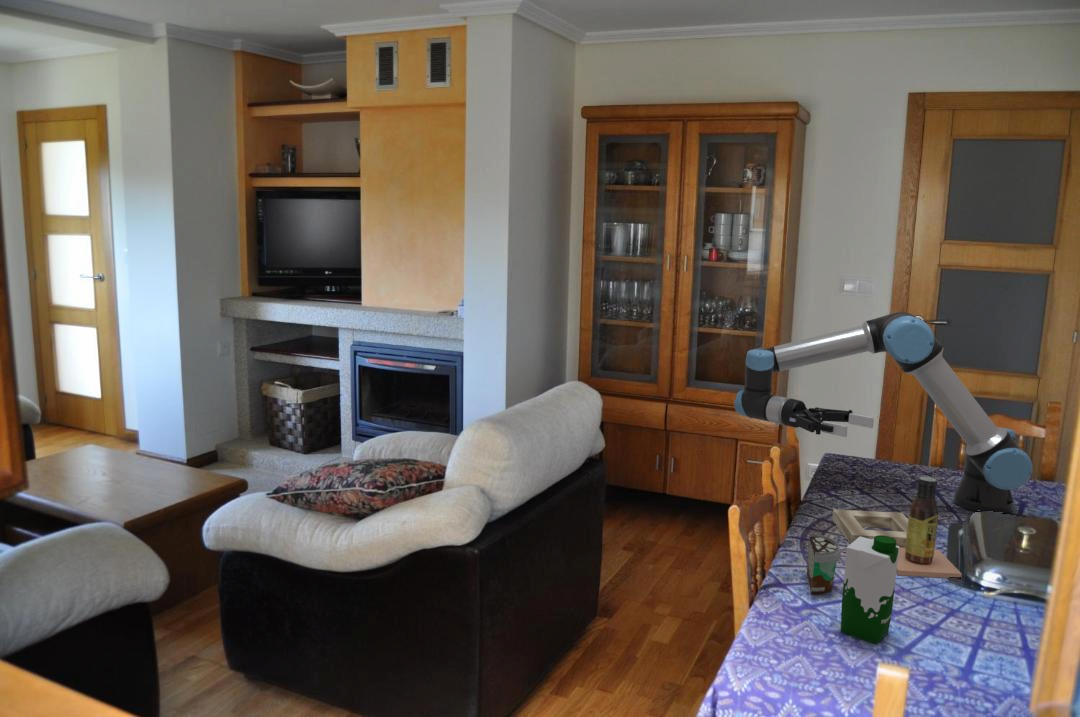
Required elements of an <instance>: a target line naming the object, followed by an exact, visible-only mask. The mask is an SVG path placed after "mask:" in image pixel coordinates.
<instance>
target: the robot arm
mask: <svg viewBox="0 0 1080 717" xmlns="http://www.w3.org/2000/svg"><path fill="white" fill-rule="evenodd" d="M866 352H868V353H871V354H872V355H873V354H874V355H875V354H878V353H885V352H886V353H888V354H889V356H890V357H891V358H892V359H893V360H894V361H895V363H896V364H897V365H898V366H899V368H900V369H901V370H902V372H903V373H904V374H907V375H912V376H913V377H914V378H915V379H916V380H917V381H918V383H919V385H921V387H922V389H924V391H925V392H926V393H927V395H928V396H929V397H930V398H931V400H932V401H933V402H934V403H935V405H936V407H937V408H938V409H939V410H940V411H941V413H942V414H943V416H944V417H945V418H946V419H947V420H948V422H949V423H950V425H952V427H953V428H954V430H955V431H956V432H957V433H958V435H959V436H960V437H961V439H962V441H964V443H965V444H966V447H965V459H964V466H963V467H964V469H963V475H962V478H961V479H960V481H959V483H958V485H957V487H956V489H955V491H954V495H953V496H954V497H953V502H954V503H955V504H956V505H957V506H959V507H961V508H962V509H963V508H964V509H967V510H969V511H972V512H973V511H974V512H976V511H977V510H980V511H993V512H1003V513H1007V514H1009V513H1012V512H1013V510H1014V499H1013V498H1014V497H1013V494H1012V490H1015V489H1018V488H1021V487H1022V486H1024V485H1026V483H1027V482H1028V481H1029V479H1030V478H1031V477H1032V473H1033V469H1034V466H1033V463H1032V460H1031V458H1030V456H1029V454H1028V453H1026V452H1025V451H1024V450H1023V449H1022V448H1021V447H1020V446H1019V444H1018V443H1017V442H1016V432H1015V430H1013V429H1012V428H1007V427H1001V426H1000V427H999V426H996V425H995V423H994V422H993V421H992V419H991V418H990V417H989V416H988V413H986V412H985V410H984V409H983V407H981V405H980V404H979V402H978V401H977V400H976V399H975V397H974V396H973V395H972V393H971V392H970V391H969V389H968V388H967V387H966V385H964V383H963V381H961V379H960V378H959V377H958V375H957V374H956V372H954V370H953V369H952V368H951V366H950V365H949V363H948V362H947V361H946V360H945V358H944V357H943V354H944V353H943V352H944V347H943V345H942V344H941V343H940V342H939V340H938V339H937V338H936V336H935V335H934V333H933V330H932V328H931V327H930V326H929V324H927V323H926V322H925V321H924V320H922V319H920V318H919V317H917V316H915V315H914V314H912V313H909V312H903V311H898V312H897V311H896V312H892V313H889V314H886V315H883V316H880V317H876V318H871V319H869V320H865V321H864V322H863V323H862V324H861V325H858V326H855V327H850V328H846V329H842V330H837V331H833V332H828V333H825V334H821V335H818V336H817V335H816V336H812V337H808V338H805V339H799V340H796V341H791V342H787V343H783V344H779V345H774V346H771V347H770V346H769V347H767V348H753V349H750V350H748V351H747V353H746V356H745V357H746V358H745V372H744V388H743V389H740V390H739V391H737V393H736V396H735V399H734V400H733V404H734V405H733V406H734V409H735V412H736V413H737V414H738V415H740V416H745V417H747V418H750V419H755V420H760V421H765V422H770V423H774V424H775V426H779V425H783V426H786V427H790V428H796V429H797V428H801V429H803V430H805V431H808V432H810V433H815V435H819V436H820V435H821V433H825V434H829V435H835V436H839V437H843V438H847V436H848V426H847V425H844V424H839V422H840V423H848V424H849V425H853V426H854V425H855V426H860V427H863V428H869V429H873V428H874V421H875V420H874V417H873V416H872V417H871V416H866V415H862V414H856V413H853V410H852V409H849V410H845V409H844V410H842V409H841V410H840V409H831V408H830V409H829V408H822V407H818V406H816V407H809V408H807V406H806V404H805V402H804V401H803V400H799V399H795V398H789V397H785V396H780V395H774V394H772V389H773V388H772V386H773V375H774V374H775V373H778V372H782V371H786V370H787V371H788V370H791V369H796V368H799V367H804V366H805V367H806V366H809V365H813V364H817V363H822V362H827V361H831V360H835V359H840V358H845V357H848V356H853V355H857V354H863V353H866ZM834 422H837V423H834Z"/></svg>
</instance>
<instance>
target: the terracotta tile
mask: <svg viewBox="0 0 1080 717" xmlns="http://www.w3.org/2000/svg"><path fill="white" fill-rule="evenodd" d="M905 552H906V551H905V548H901V547H900V550H899V556H898V563H897V571H896V575H898V576H899V577H901V576H903V577H918V578H920V577H921V578H922V577H923V578H938V577H940V578H941V579H942V578H943V579H950V578H949V577H961V578H962V576H963V573H962V572H961V571H960V570H959V569H958V568H957V567H956V566H955V565H954V564H953V563H952V562H951V561H950V560H949V559H948V558H947V557H946V556H945V555H944V554H943V553H942V552H941V550H940V549H936V548H935V549H934V556H933V559H932V562H931V563H926V564H923V563H916V562H912V561H910V560H908V559H907V558H906V557H905Z"/></svg>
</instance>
